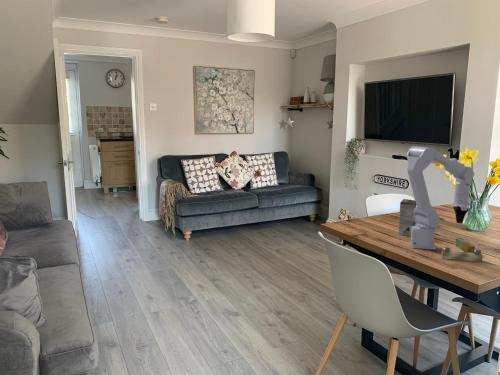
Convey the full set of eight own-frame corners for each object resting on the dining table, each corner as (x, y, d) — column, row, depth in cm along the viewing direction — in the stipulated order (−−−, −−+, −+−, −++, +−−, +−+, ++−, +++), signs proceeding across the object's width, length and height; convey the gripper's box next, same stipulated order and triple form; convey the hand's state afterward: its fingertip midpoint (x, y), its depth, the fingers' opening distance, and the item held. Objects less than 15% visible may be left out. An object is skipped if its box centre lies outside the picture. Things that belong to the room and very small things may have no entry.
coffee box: (401, 230, 196) (403, 198, 194) (414, 231, 193) (417, 200, 190) (397, 234, 188) (399, 202, 186) (412, 236, 185) (414, 203, 183)
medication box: (455, 246, 171) (455, 237, 170) (461, 246, 171) (462, 237, 170) (467, 255, 159) (468, 246, 159) (474, 255, 159) (475, 246, 158)
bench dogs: (443, 258, 155) (443, 248, 155) (442, 256, 157) (442, 246, 157) (481, 261, 151) (481, 251, 150) (479, 259, 153) (480, 250, 153)
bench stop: (442, 258, 155) (442, 252, 155) (441, 256, 158) (441, 250, 157) (481, 261, 151) (482, 255, 151) (480, 259, 153) (480, 253, 153)
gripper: (476, 196, 164) (473, 227, 166) (468, 190, 178) (465, 219, 180) (457, 195, 166) (454, 226, 168) (451, 190, 180) (449, 218, 182)
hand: (459, 222), depth 174 cm, fingers closed
